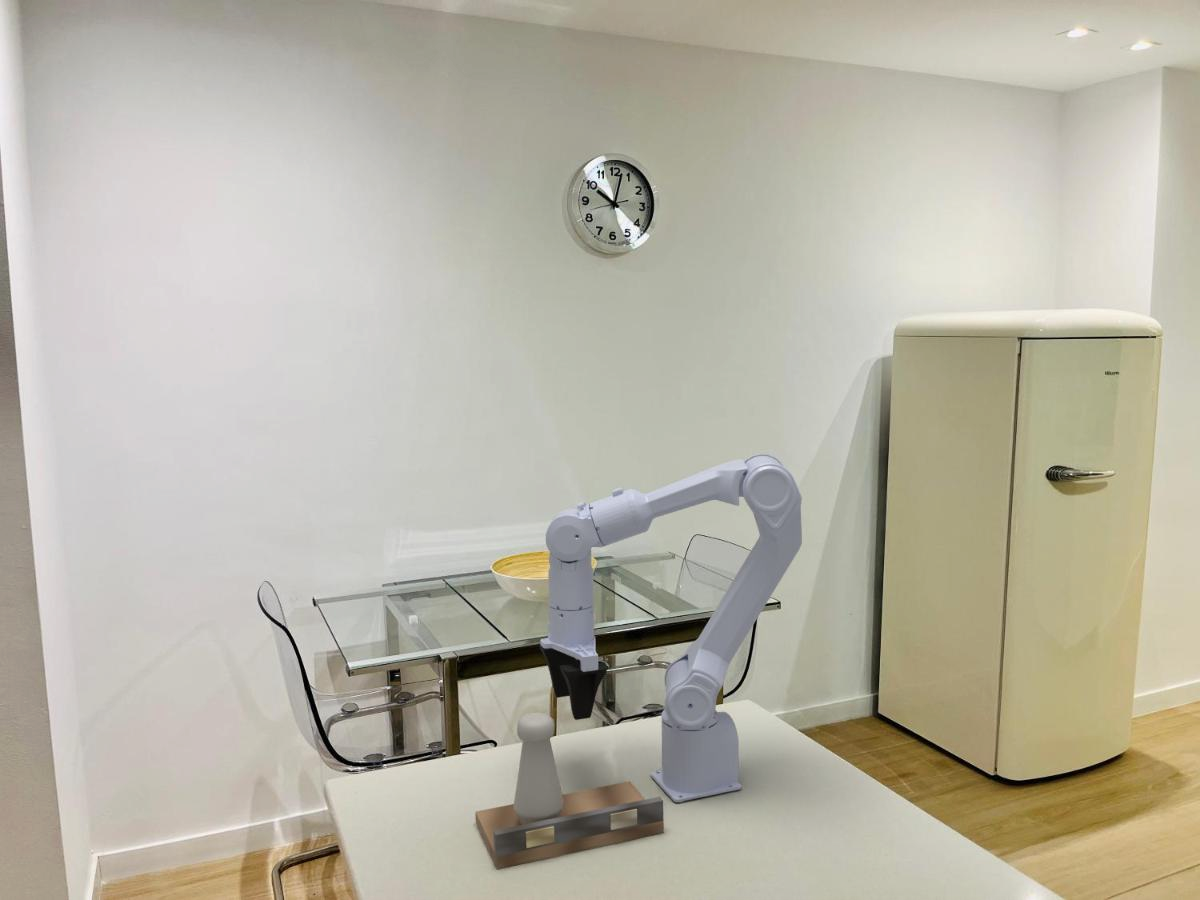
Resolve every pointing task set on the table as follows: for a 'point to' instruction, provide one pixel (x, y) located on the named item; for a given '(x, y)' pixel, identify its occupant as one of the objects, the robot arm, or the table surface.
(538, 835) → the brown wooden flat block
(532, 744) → the salt shaker
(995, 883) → the table surface
